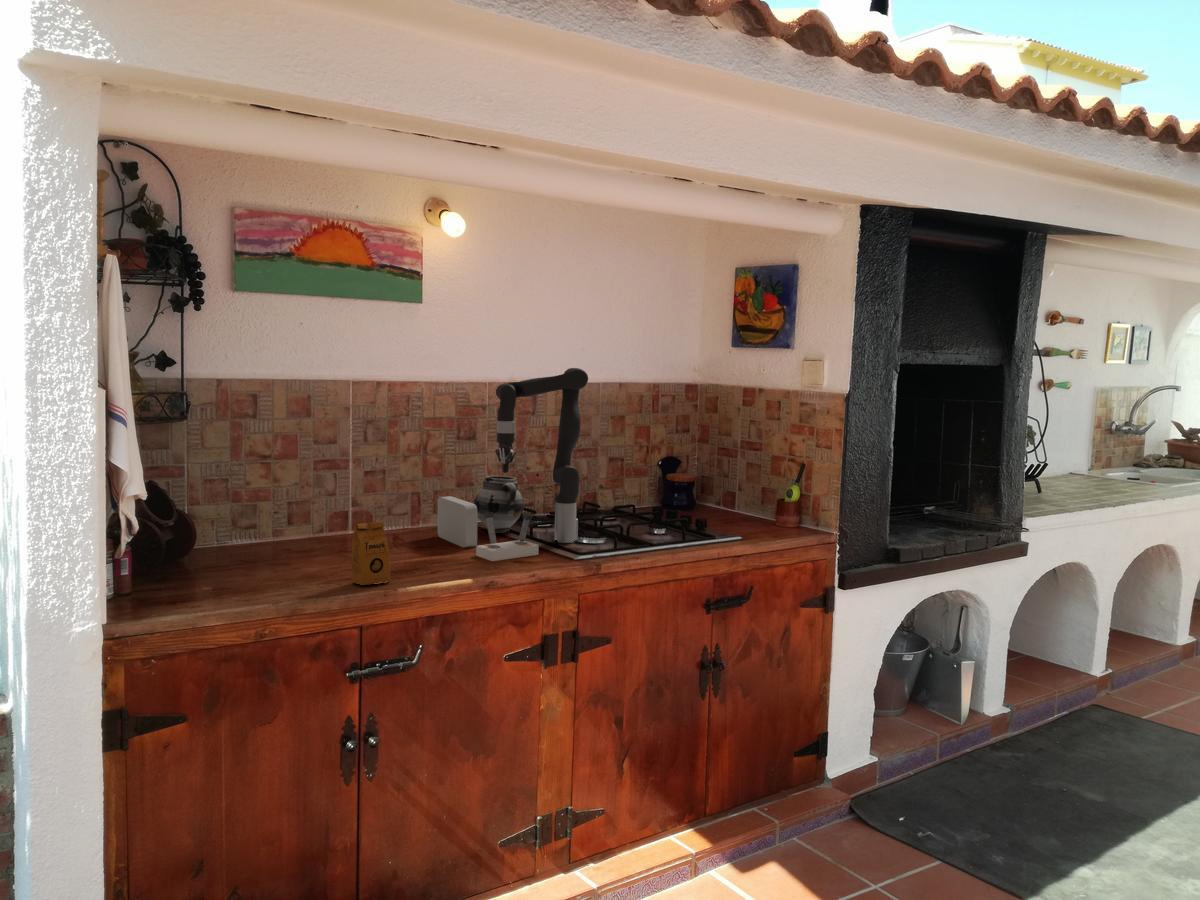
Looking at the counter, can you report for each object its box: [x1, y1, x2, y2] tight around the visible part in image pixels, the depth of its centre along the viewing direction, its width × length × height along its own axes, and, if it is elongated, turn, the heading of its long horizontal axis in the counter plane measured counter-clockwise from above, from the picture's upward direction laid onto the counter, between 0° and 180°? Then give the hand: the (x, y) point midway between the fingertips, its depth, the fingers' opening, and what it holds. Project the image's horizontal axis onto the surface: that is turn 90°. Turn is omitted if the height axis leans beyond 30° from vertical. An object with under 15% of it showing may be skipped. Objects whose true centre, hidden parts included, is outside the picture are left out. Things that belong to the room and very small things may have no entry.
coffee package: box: [351, 520, 391, 586], centre depth 338 cm, size 10×12×22 cm
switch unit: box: [475, 539, 539, 562], centre depth 389 cm, size 22×12×4 cm, turn 128°
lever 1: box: [484, 512, 498, 544], centre depth 386 cm, size 3×3×12 cm
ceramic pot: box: [473, 475, 525, 534], centre depth 438 cm, size 29×23×25 cm
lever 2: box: [517, 511, 534, 542], centre depth 390 cm, size 3×3×12 cm
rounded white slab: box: [437, 495, 478, 548], centre depth 413 cm, size 29×8×18 cm, turn 33°
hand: (505, 472), depth 406 cm, fingers closed
